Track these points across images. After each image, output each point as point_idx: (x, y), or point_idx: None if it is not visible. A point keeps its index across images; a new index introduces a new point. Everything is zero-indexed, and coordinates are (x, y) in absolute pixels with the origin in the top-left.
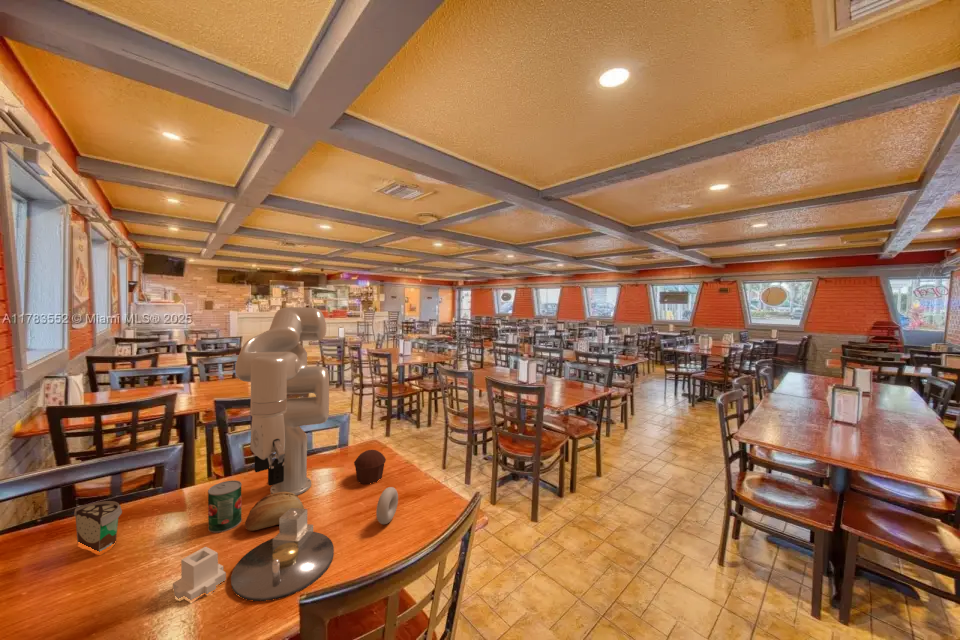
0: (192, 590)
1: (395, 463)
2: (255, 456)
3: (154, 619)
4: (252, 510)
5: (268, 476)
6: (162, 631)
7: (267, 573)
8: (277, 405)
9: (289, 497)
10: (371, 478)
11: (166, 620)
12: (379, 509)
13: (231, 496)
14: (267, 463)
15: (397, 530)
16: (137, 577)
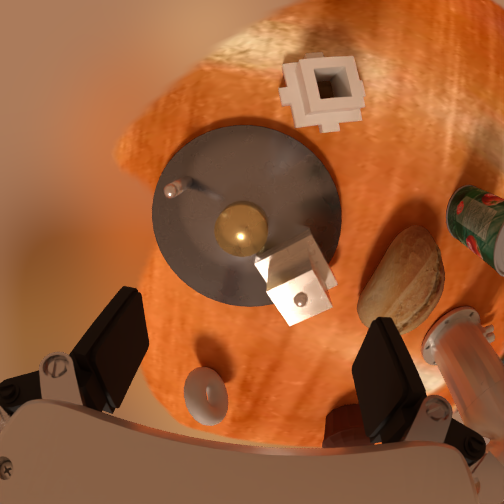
0: (292, 69)
1: None
2: (418, 394)
3: (290, 26)
4: (431, 253)
5: (101, 317)
6: (248, 28)
7: (231, 183)
8: None
9: None
10: (331, 419)
11: (271, 35)
12: (190, 385)
13: (488, 239)
14: (359, 387)
15: (181, 366)
16: (431, 56)
